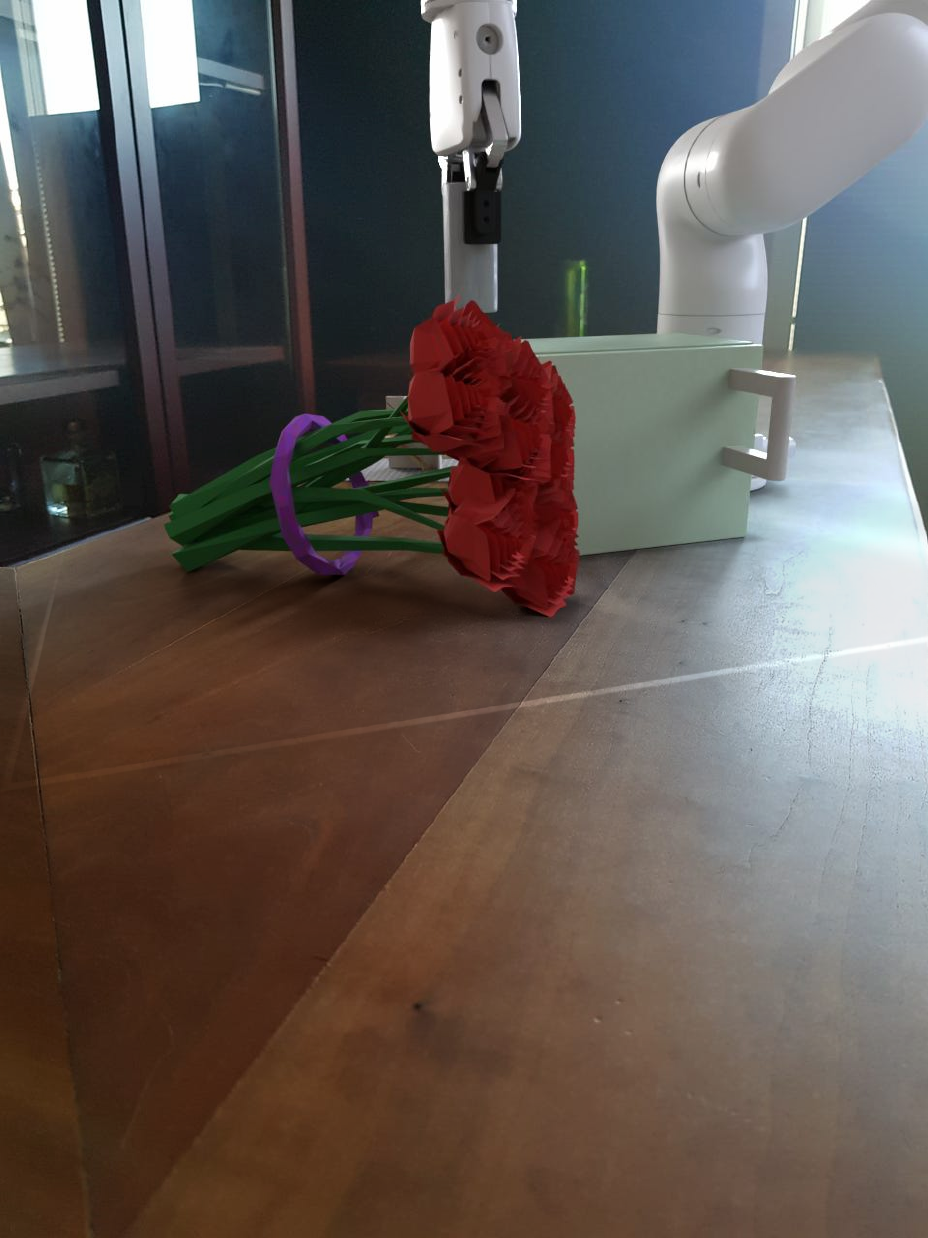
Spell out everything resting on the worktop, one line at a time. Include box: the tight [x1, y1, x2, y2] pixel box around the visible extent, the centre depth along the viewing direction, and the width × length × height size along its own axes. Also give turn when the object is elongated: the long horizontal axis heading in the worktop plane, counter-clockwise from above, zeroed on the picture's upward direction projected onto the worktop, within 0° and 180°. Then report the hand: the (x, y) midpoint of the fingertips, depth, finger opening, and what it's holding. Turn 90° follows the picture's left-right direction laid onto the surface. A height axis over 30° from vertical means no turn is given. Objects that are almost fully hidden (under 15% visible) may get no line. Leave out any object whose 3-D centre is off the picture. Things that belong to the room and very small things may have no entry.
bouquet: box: [163, 292, 580, 618], centre depth 63 cm, size 20×16×30 cm
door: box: [536, 344, 797, 557], centre depth 66 cm, size 7×18×14 cm, turn 108°
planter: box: [442, 181, 498, 314], centre depth 81 cm, size 4×4×10 cm
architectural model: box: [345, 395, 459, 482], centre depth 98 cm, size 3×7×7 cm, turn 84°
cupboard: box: [521, 333, 754, 355], centre depth 74 cm, size 11×18×15 cm, turn 108°
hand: (471, 242), depth 81 cm, fingers closed on planter, 4 cm apart
